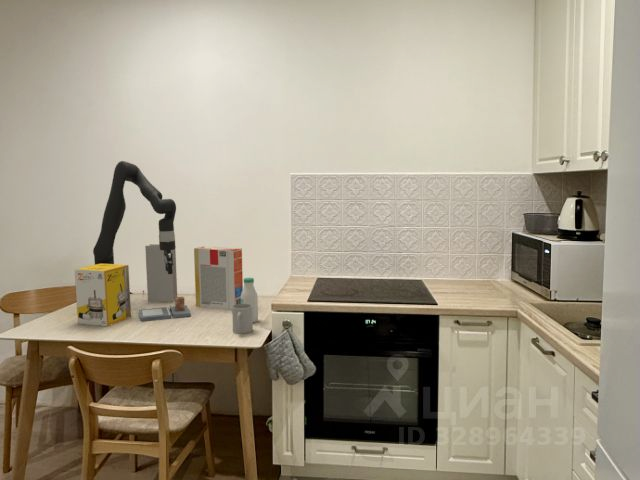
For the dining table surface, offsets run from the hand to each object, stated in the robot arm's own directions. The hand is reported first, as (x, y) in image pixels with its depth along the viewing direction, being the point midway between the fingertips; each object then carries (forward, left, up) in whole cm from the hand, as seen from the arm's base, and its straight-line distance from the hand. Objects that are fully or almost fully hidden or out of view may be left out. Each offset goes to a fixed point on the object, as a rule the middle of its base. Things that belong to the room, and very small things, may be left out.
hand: (169, 272), depth 254 cm
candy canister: (+32, -34, -19) cm, 50 cm away
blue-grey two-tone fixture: (+4, -8, -19) cm, 21 cm away
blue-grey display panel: (-8, -8, -19) cm, 22 cm away
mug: (+25, -49, -19) cm, 58 cm away
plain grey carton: (-2, +22, -19) cm, 29 cm away
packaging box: (-30, -7, -19) cm, 36 cm away
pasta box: (+24, -2, -19) cm, 31 cm away
